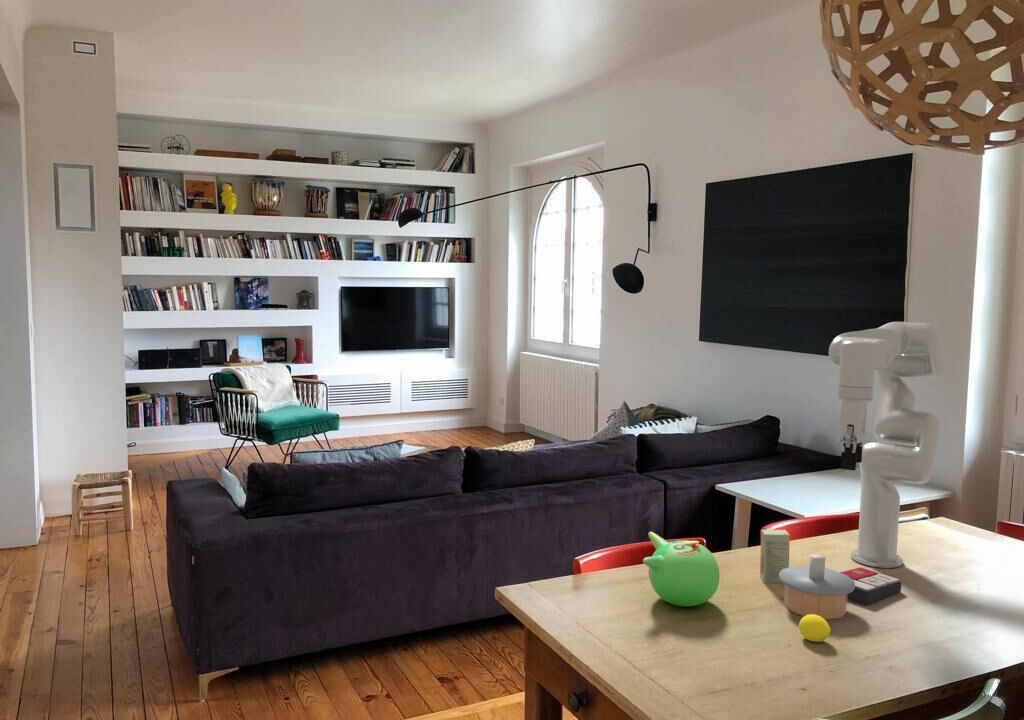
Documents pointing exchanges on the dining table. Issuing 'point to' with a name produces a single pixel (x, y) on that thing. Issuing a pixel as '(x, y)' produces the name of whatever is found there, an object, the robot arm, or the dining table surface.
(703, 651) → the dining table surface
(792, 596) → the bowl
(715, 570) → the toy bird
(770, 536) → the skincare box
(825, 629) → the lemon
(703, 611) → the dining table surface
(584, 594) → the dining table surface
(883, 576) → the calculator
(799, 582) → the lid
